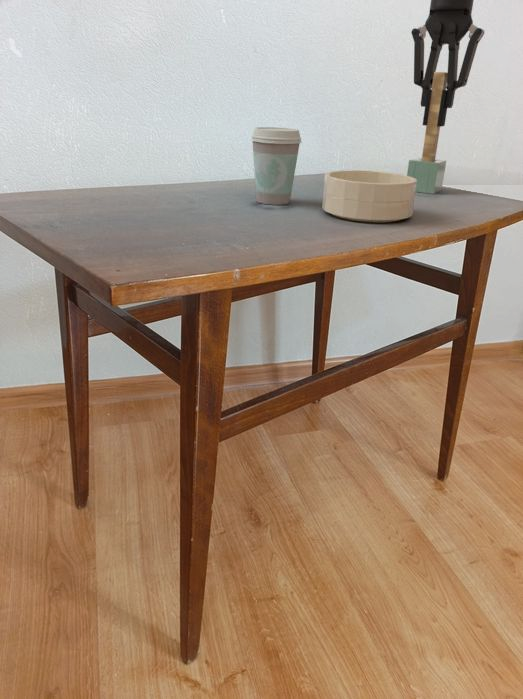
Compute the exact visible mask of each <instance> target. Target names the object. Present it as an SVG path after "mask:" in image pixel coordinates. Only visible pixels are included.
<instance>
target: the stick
mask: <svg viewBox="0 0 523 699" xmlns="http://www.w3.org/2000/svg"><path fill="white" fill-rule="evenodd" d="M447 75H448V72H445V71H436V72H434V77H433V84H432V88H431V89H432V92H431V99H430V105H429V112H428V119H427V125H425V134H424V140H423V147H422V155H421V158H422V161H432V162H434V161H435V159H437V158H436V156H437V150H438V145H439V144H438V143H439V138H440V132H441V131H440V130H441V127H440V126H437V123H438V116H439V110H440V103H441V96H442V90H447V89H446V86H447Z"/></svg>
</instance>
